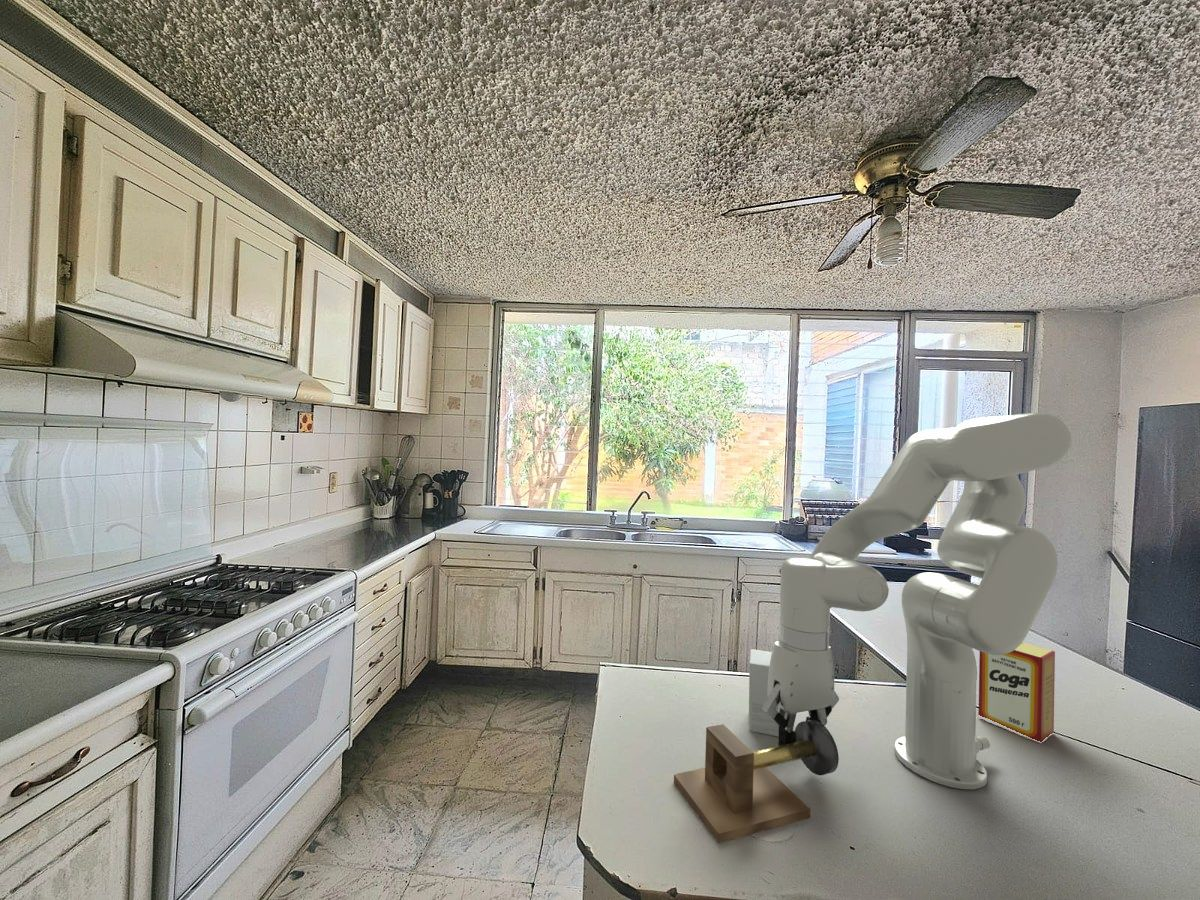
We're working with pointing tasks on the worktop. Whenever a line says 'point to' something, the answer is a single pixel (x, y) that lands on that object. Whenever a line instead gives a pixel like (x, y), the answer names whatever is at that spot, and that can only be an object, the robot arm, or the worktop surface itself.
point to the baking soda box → (1019, 690)
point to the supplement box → (760, 694)
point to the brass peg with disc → (804, 750)
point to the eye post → (737, 790)
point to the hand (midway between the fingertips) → (800, 748)
